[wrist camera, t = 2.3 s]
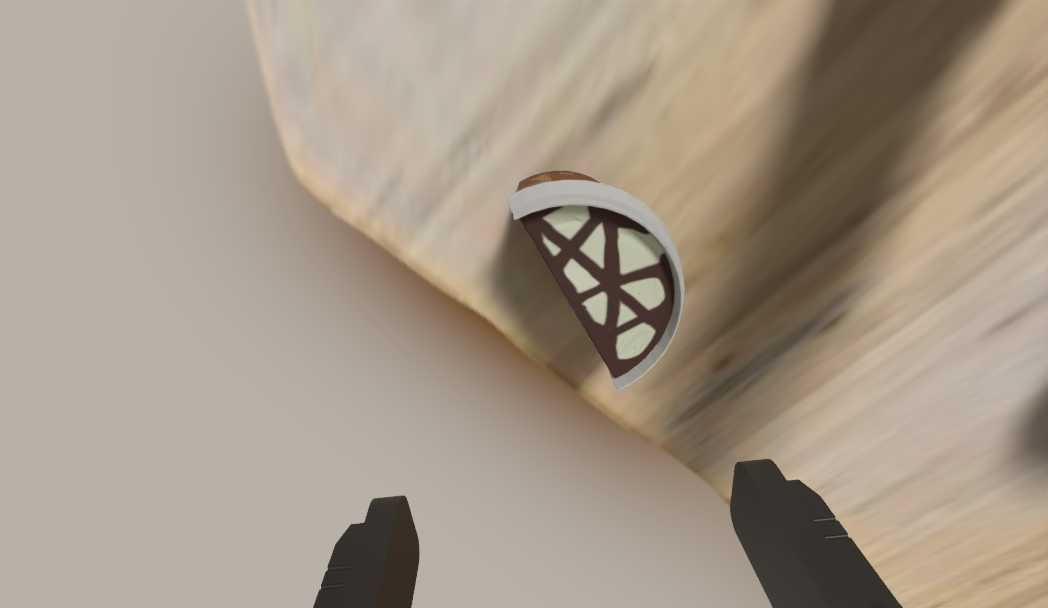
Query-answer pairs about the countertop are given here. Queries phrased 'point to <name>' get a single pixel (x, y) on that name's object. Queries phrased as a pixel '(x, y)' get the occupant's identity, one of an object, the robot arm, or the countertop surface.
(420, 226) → the countertop surface
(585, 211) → the food container
